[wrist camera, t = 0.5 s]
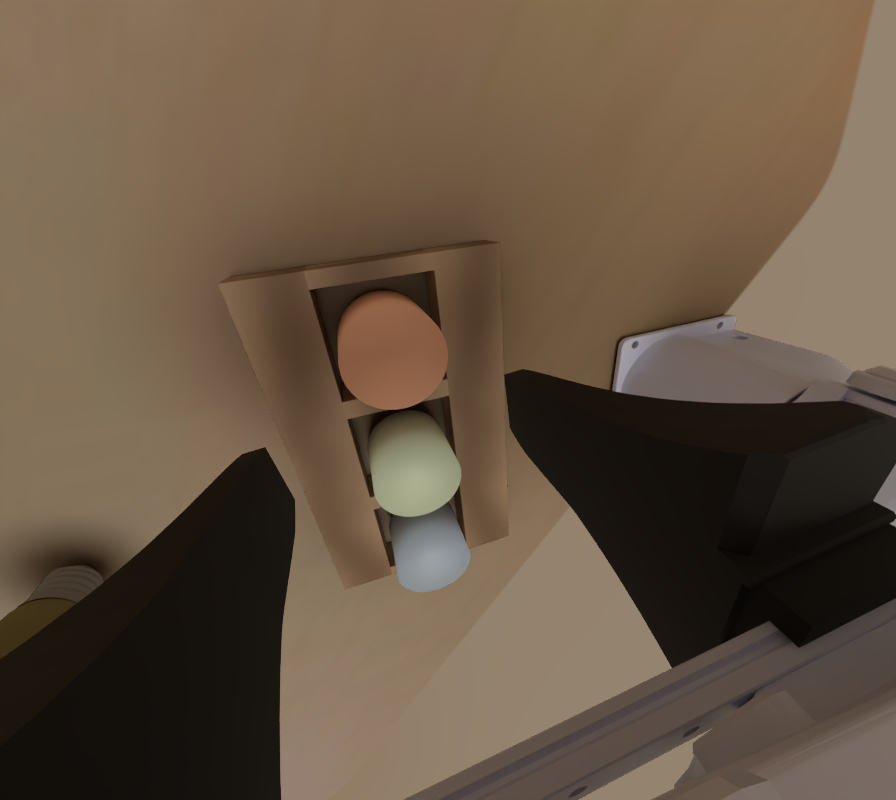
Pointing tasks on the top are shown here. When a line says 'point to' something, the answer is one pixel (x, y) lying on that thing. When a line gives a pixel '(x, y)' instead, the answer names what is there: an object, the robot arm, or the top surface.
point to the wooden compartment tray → (332, 406)
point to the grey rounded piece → (429, 549)
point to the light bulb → (47, 604)
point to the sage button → (412, 464)
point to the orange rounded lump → (390, 350)
